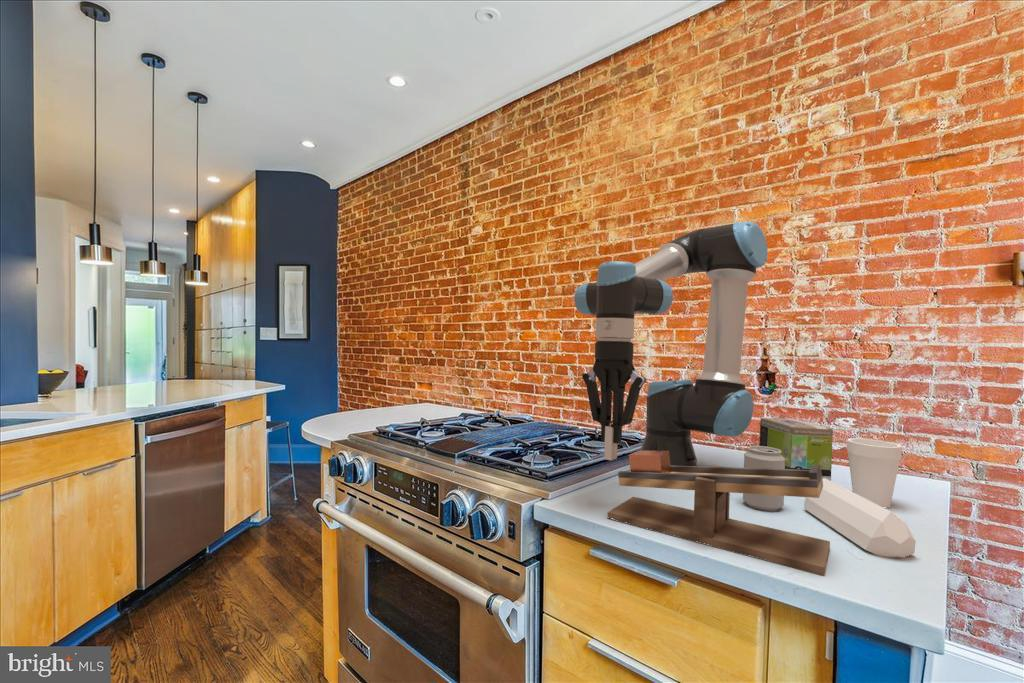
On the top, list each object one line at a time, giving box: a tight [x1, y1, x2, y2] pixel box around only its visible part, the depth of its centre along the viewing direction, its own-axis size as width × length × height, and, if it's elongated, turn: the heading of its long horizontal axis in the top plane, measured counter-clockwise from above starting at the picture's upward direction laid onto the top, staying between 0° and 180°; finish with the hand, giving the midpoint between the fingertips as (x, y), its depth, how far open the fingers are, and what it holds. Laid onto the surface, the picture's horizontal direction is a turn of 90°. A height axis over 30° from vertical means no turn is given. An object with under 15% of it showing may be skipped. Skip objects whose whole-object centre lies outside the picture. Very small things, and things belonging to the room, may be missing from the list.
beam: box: [617, 465, 823, 498], centre depth 85 cm, size 32×8×4 cm, turn 54°
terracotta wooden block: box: [628, 449, 671, 473], centre depth 92 cm, size 6×5×4 cm
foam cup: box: [846, 437, 903, 508], centre depth 104 cm, size 10×9×13 cm
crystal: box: [803, 478, 917, 558], centre depth 88 cm, size 7×7×24 cm
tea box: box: [759, 417, 834, 481], centre depth 119 cm, size 15×10×15 cm
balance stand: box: [607, 464, 831, 577], centre depth 85 cm, size 34×12×10 cm, turn 53°
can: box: [742, 445, 785, 512], centre depth 100 cm, size 8×8×12 cm
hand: (610, 458), depth 96 cm, fingers closed
